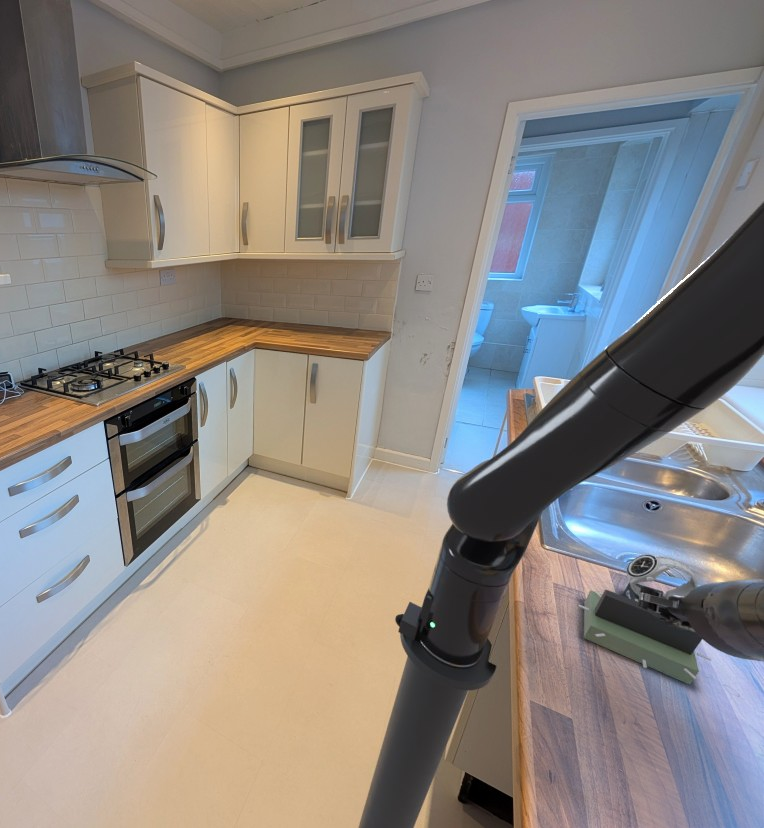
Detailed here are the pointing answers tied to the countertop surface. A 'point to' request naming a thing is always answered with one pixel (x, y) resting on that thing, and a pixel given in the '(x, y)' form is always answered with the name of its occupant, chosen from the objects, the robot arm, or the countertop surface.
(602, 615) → the pointer
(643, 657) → the dial panel
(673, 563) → the watch
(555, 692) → the countertop surface
